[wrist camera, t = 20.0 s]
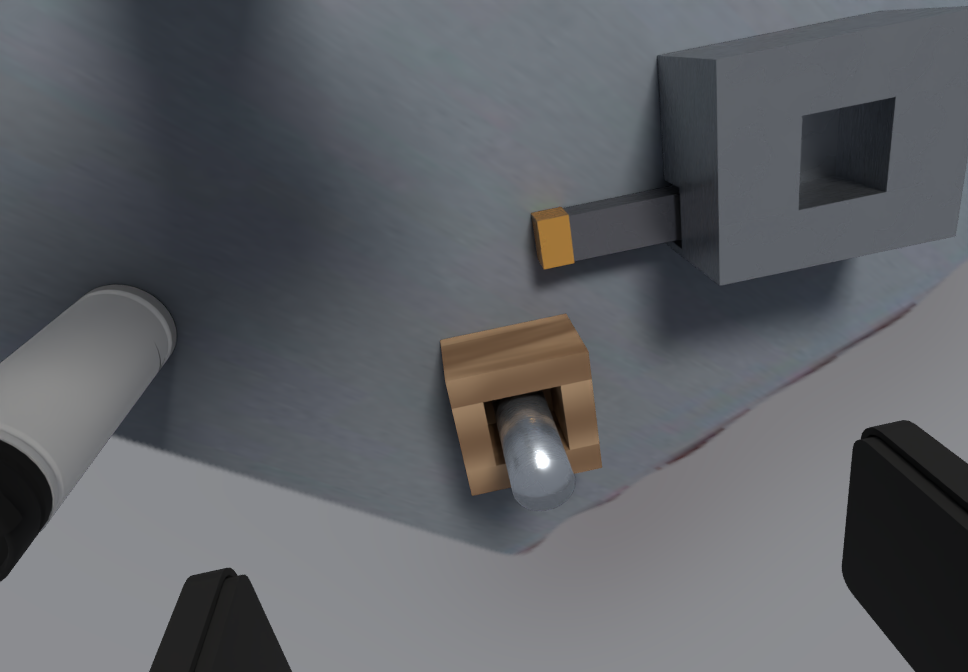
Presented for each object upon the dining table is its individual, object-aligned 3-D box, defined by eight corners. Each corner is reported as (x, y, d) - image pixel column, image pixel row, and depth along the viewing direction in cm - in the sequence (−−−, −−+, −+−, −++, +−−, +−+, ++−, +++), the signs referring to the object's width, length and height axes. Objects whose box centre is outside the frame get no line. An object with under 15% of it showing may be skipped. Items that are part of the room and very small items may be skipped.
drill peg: (485, 370, 45) (508, 466, 35) (536, 361, 45) (572, 453, 35) (492, 413, 47) (516, 516, 37) (541, 404, 47) (577, 504, 37)
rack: (440, 340, 45) (445, 381, 39) (566, 313, 45) (588, 351, 40) (464, 444, 49) (472, 495, 43) (580, 420, 49) (602, 467, 44)
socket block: (657, 55, 39) (716, 59, 31) (881, 10, 39) (990, 4, 32) (667, 244, 44) (719, 285, 37) (865, 203, 44) (955, 236, 37)
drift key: (531, 212, 42) (537, 221, 40) (769, 164, 42) (786, 170, 40) (537, 259, 43) (543, 269, 41) (768, 211, 43) (785, 219, 42)
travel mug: (201, 347, 43) (56, 570, 25) (113, 384, 43) (-92, 631, 25) (145, 265, 40) (-63, 450, 22) (53, 306, 41) (-226, 519, 23)
